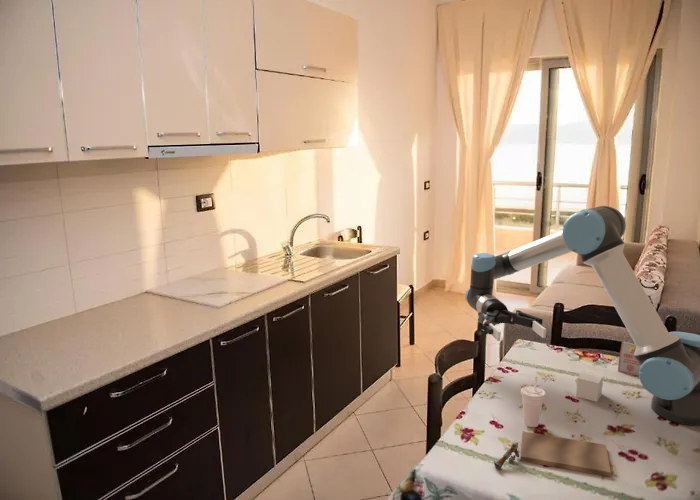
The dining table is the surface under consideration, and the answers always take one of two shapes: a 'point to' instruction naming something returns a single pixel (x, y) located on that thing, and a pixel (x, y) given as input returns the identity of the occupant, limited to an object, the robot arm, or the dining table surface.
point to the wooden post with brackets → (507, 455)
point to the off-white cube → (589, 386)
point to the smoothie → (532, 404)
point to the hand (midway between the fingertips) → (522, 335)
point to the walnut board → (565, 453)
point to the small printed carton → (628, 359)
